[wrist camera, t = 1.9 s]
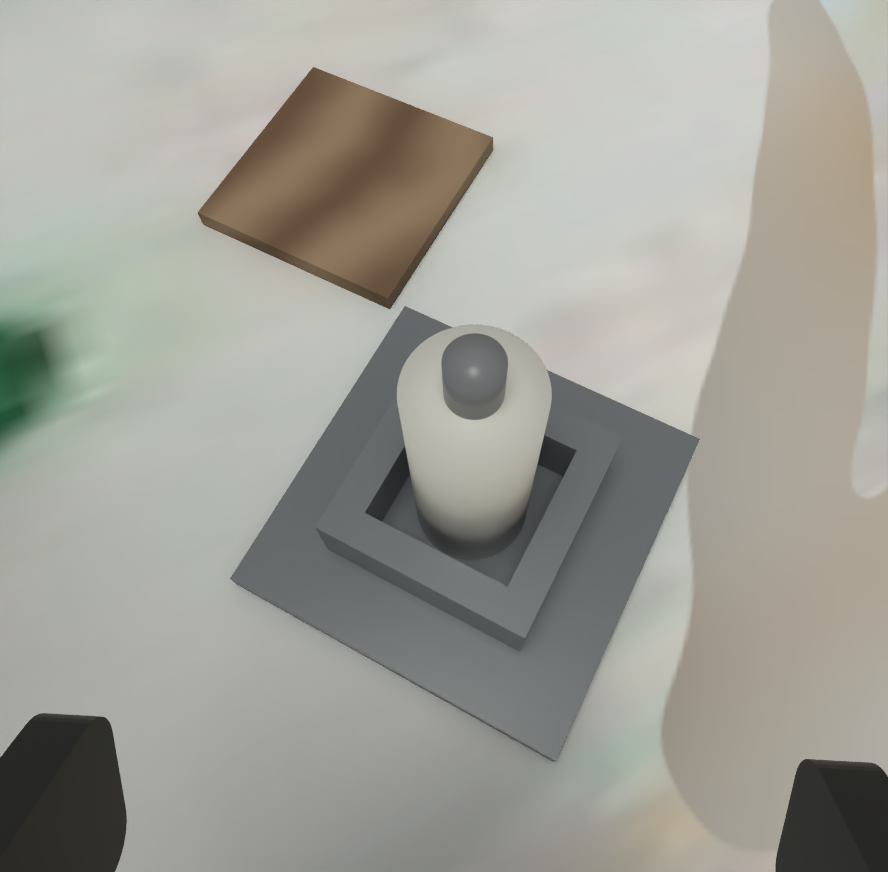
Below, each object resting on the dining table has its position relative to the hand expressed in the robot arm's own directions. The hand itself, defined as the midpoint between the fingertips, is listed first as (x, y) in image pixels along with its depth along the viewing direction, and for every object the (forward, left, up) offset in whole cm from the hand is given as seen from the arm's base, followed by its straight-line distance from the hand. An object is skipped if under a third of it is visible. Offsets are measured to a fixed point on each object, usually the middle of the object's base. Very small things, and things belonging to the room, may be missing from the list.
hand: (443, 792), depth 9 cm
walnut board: (-20, +25, -26) cm, 41 cm away
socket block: (-5, +11, -26) cm, 29 cm away
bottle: (-5, +11, -25) cm, 28 cm away
